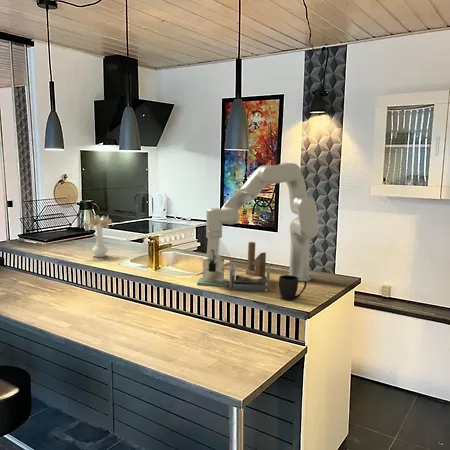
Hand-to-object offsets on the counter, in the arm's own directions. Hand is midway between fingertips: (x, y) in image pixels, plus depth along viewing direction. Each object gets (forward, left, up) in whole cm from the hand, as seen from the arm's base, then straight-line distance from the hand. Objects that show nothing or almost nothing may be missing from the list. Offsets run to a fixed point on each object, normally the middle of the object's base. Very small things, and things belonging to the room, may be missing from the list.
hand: (213, 269), depth 215 cm
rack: (-18, +2, -7) cm, 19 cm away
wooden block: (-20, -13, -7) cm, 25 cm away
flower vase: (+75, -46, -7) cm, 88 cm away
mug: (-37, +20, -7) cm, 43 cm away
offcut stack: (-18, -2, -7) cm, 19 cm away
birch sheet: (0, 0, -6) cm, 6 cm away
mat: (0, 0, -7) cm, 7 cm away
